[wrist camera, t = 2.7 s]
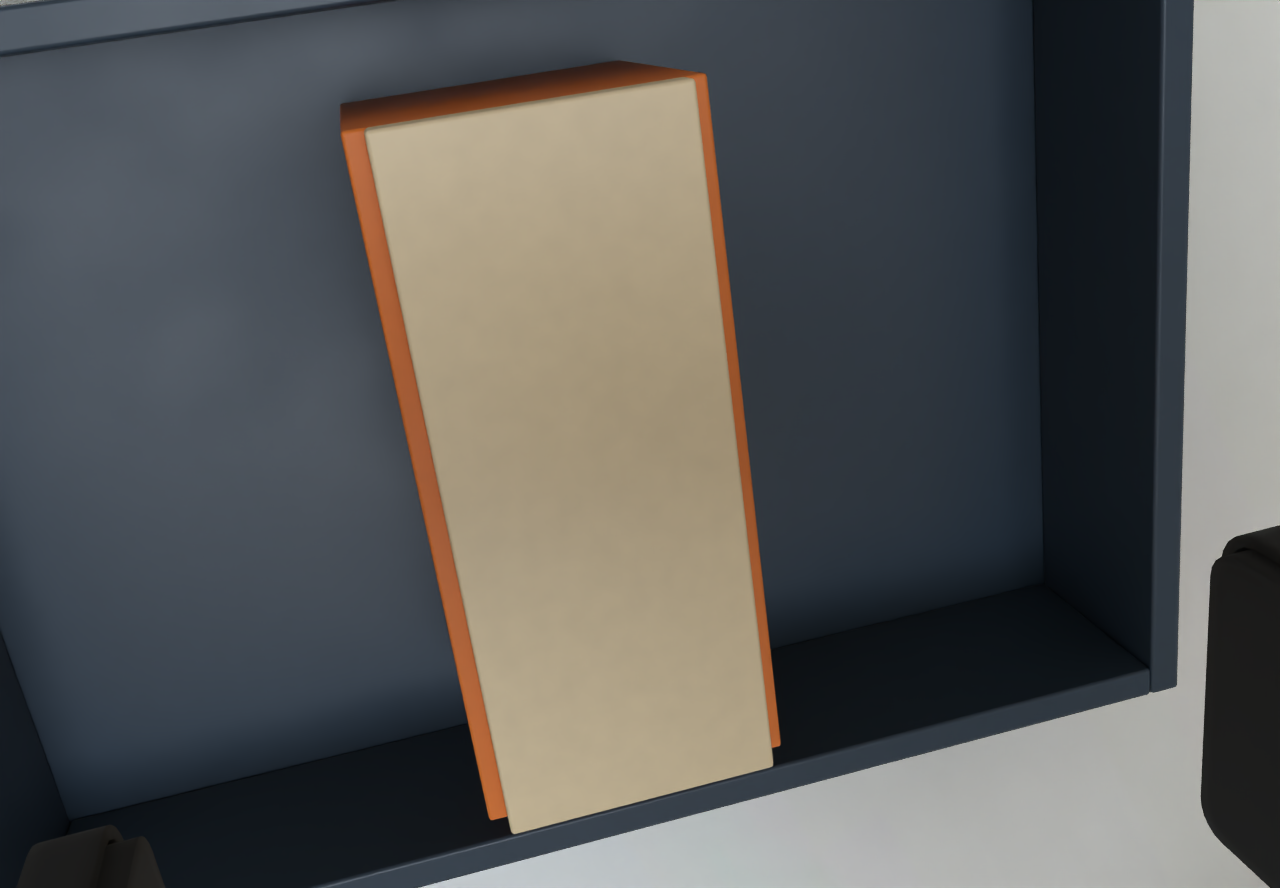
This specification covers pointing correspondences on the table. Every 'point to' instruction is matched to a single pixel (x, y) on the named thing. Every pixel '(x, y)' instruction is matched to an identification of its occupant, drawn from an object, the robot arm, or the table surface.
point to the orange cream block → (574, 426)
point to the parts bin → (378, 450)
